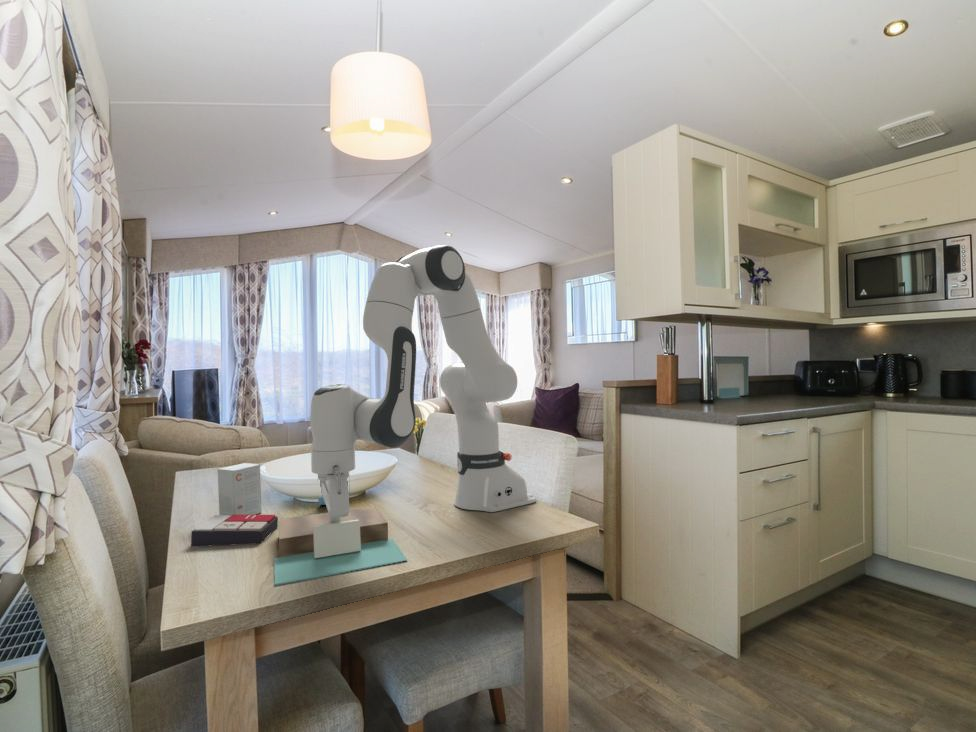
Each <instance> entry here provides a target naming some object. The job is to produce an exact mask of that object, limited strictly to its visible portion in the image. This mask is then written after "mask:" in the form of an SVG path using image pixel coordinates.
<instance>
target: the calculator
mask: <svg viewBox="0 0 976 732" xmlns="http://www.w3.org/2000/svg"><path fill="white" fill-rule="evenodd" d="M278 519H279V517H278V516H276V514H256V515H232V516H231V515H217V514H216V515H213V516H212V517H210V518H209V519H207V520H206V521H205V522H203V523H202V524H200V525H198V526H197V527H195V529H193V530H191V533H190V538H191V540H190V547H191V546H198V547H210V546H209V545H212V546H227V545H228V546H231V545H230V544H236V545H252V544H253V543H256V544H262V543H263V542H264V541H265V540H266V539H267V538H268V537H269V536H270V535H271V534H272V533H273V532H275V530H276V529H277V528H279V520H278ZM271 532H272V533H271ZM270 533H271V534H270ZM269 534H270V535H269ZM268 535H269V536H268ZM267 536H268V537H267ZM266 537H267V538H266ZM265 538H266V539H265ZM264 539H265V540H264ZM262 541H263V542H262ZM261 542H262V543H261ZM251 543H252V544H251Z"/></svg>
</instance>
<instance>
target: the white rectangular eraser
mask: <svg viewBox="0 0 976 732" xmlns="http://www.w3.org/2000/svg"><path fill="white" fill-rule="evenodd" d="M313 540H314V558H320V557H326V556H332V555H338V554H343V553H349V552H355V551H361V541H360V521H359V520H351V521H344V522H337V523H330V524H323V525H316V526H313Z"/></svg>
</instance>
